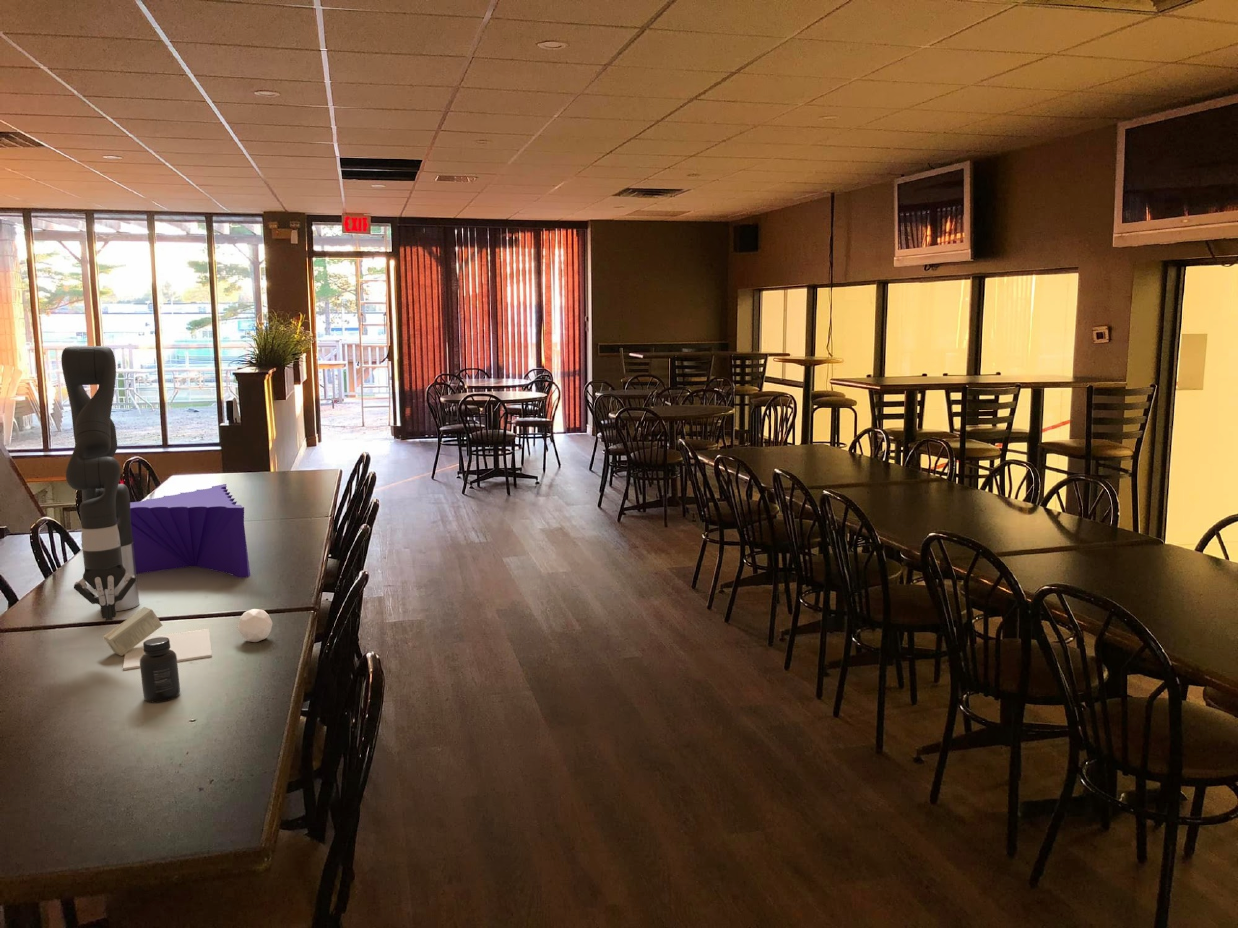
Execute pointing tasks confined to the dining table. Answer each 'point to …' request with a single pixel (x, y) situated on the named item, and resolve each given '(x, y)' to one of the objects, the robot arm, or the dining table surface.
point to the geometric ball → (254, 625)
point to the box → (132, 631)
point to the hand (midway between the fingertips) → (109, 619)
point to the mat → (175, 647)
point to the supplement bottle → (159, 671)
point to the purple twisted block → (190, 532)
